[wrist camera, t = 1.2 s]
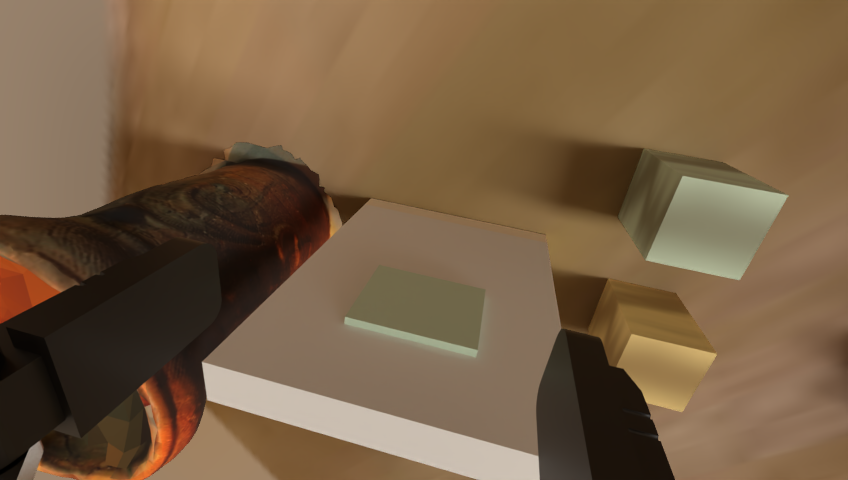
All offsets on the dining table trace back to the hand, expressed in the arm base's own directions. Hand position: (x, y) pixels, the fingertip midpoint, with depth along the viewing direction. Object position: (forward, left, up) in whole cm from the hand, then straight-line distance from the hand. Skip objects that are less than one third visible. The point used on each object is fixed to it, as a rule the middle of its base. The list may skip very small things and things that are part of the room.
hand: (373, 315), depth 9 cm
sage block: (+1, +14, -22) cm, 26 cm away
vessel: (+10, -16, -22) cm, 29 cm away
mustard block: (+11, +15, -22) cm, 29 cm away
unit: (+13, 0, -22) cm, 25 cm away
